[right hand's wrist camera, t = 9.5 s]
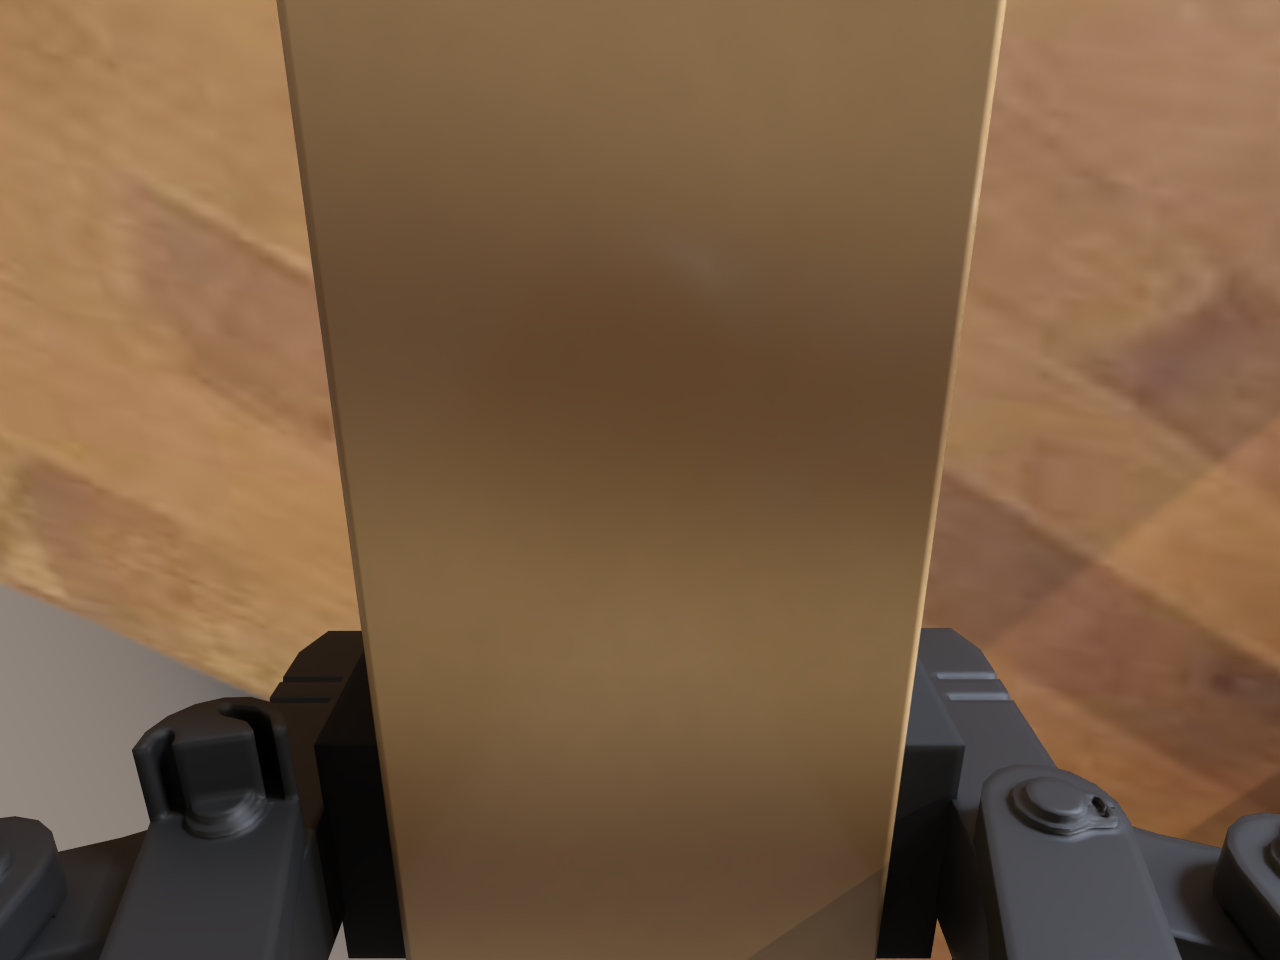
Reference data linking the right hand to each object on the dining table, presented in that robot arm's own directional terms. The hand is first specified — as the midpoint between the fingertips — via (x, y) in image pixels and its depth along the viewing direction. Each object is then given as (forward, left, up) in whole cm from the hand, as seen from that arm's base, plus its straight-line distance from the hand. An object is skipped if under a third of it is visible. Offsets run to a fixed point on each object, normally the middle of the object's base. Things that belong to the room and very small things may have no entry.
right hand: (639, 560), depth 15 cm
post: (-14, -16, -1) cm, 22 cm away
